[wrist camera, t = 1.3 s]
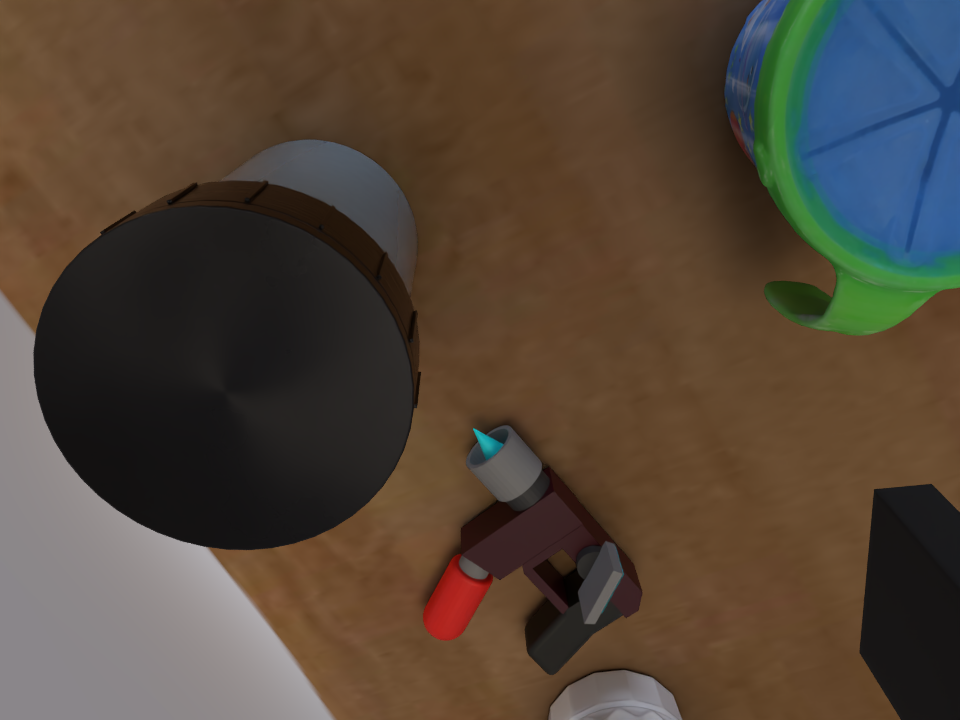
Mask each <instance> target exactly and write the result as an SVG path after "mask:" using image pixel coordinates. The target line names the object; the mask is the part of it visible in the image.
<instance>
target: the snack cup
mask: <svg viewBox="0 0 960 720" xmlns="http://www.w3.org/2000/svg"><path fill="white" fill-rule="evenodd" d="M724 92H725V101H726V103H725V107H726V110H727V114H728V118H729V121H730V124H731V128H732V130H733V132H734V134H735V137H736V139H737V141H738V143H739V145H740V146H741V148H742V150H743V151H744V153H745V154H746V155H747V157H748V158H749V159H750V161H751V162H752V163H753V164H754V166H755V167H756V168H757V171H758V174H759V178H760V180H761V182H762V184H763V185H764V186H766V187H767V189H768V191H769V194H770V195H771V197H772V198H773V200H774V202H775V204H776V206H777V208H778V209H779V210H780V212H781V213H782V214H783V216H784V217H785V219H786V220H787V221H788V222H789V224H790V225H791V226H792V228H793V229H794V231H795V232H796V233H797V234H798V235H799V236H800V237H801V238H802V239H803V240H804V241H805V242H806V243H807V244H809V245H810V246H811V247H812V248H813V249H814V250H815V251H817V252H818V253H820V254H821V255H822V256H824V257H825V258H826V259H828V260H829V261H830V263H831V264H832V265H833V266H834V269H835V272H836V277H837V282H836V286H835V289H834V293H833V297H832V298H831V297H830V296H829V295H827V294H826V293H824V292H823V291H821V290H820V289H818V288H817V287H815V286H813V285H810V284H806V283H800V282H791V281H773V282H770V283H767V284H766V286H765V289H764V294H765V296H766V299H767V300H768V302H769V303H770V304H771V306H772V307H774V308H775V309H776V310H778V311H779V312H780V313H781V314H782V315H783V316H785V317H786V318H788V319H789V320H791V321H793V322H795V323H797V324H799V325H801V326H806V327H809V328H813V329H817V330H825V331H834V332H838V333H842V334H846V335H870V334H873V333H877V332H881V331H884V330H886V329H888V328H891V327H893V326H895V325H897V324H898V323H899V322H901V321H902V320H904V319H906V318H907V317H909V316H910V315H911V314H912V313H913V312H914V311H915V310H917V309H918V308H919V307H920V306H922V305H923V304H924V303H925V302H926V301H927V300H928V299H929V298H930V297H932V296H934V295H935V294H936V293H937V292H939V291H941V290H944V289H952V288H958V287H960V0H763V1H761V2H760V3H759V4H758V5H757V6H756V8H755V9H754V10H753V11H752V12H751V13H750V14H749V16H748V17H747V19H746V23H745V25H744V27H743V28H742V30H741V32H740V34H739V36H738V38H737V40H736V42H735V44H734V46H733V49H732V52H731V55H730V59H729V64H728V67H727V73H726V84H725V88H724Z"/></svg>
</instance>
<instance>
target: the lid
mask: <svg viewBox="0 0 960 720" xmlns="http://www.w3.org/2000/svg"><path fill="white" fill-rule="evenodd" d="M100 233H101V234H102V235H101V236H99V237H98V238H97V239H96V240H94V241H93V242H92V243H90V244H89V245H88V246H87V247H85V248H84V249H83V250H82V251H81V252H80V253H79V254H78V255H77V256H76V257H75V258H74V259H73V260H72V261H71V262H70V263H69V265H68V266H67V267H66V268H65V269H64V271H63V272H62V274H61V275H60V277H59V278H58V280H57V281H56V283H55V284H54V285H53V287H52V289H51V291H50V293H49V296H48V298H47V300H46V302H45V304H44V306H43V309H42V312H41V316H40V319H39V323H38V326H37V330H36V337H35V346H34V378H35V384H36V390H37V396H38V400H39V403H40V407H41V410H42V413H43V416H44V419H45V422H46V424H47V426H48V428H49V430H50V432H51V435H52V437H53V439H54V441H55V443H56V444H57V446H58V448H59V449H60V451H61V452H62V454H63V456H64V457H65V459H66V460H67V462H68V463H69V464H70V465H71V467H72V468H73V469H74V470H75V472H76V473H77V474H78V475H79V476H80V478H81V479H82V480H83V481H84V482H85V483H86V484H87V485H88V486H89V487H90V488H91V489H92V490H93V491H94V492H95V493H97V495H98V496H100V497H101V498H102V499H104V500H105V501H106V502H107V503H109V504H110V505H111V506H112V507H114V508H115V509H116V510H118V511H119V512H121V513H122V514H124V515H126V516H127V517H129V518H131V519H132V520H134V521H135V522H137V523H139V524H141V525H143V526H145V527H147V528H149V529H151V530H153V531H155V532H158V533H160V534H163V535H166V536H168V537H171V538H174V539H177V540H180V541H183V542H187V543H191V544H196V545H200V546H204V547H212V548H219V549H228V550H255V549H266V548H274V547H279V546H284V545H289V544H294V543H297V542H300V541H303V540H306V539H309V538H312V537H315V536H317V535H319V534H321V533H323V532H325V531H328V530H330V529H332V528H334V527H336V526H337V525H339V524H340V523H342V522H343V521H345V520H346V519H348V518H350V517H351V516H353V515H354V514H355V513H356V512H357V511H359V510H360V509H361V508H362V507H363V506H365V505H366V504H367V503H368V502H369V501H370V500H371V499H372V498H373V497H374V496H375V495H376V493H377V492H378V491H379V490H380V489H381V488H382V487H383V486H384V484H385V483H386V481H387V480H388V478H389V477H390V475H391V474H392V472H393V471H394V469H395V467H396V465H397V463H398V461H399V459H400V457H401V455H402V453H403V451H404V448H405V445H406V442H407V439H408V436H409V432H410V429H411V423H412V417H413V410H414V408H417V404H418V394H419V385H420V376H421V372H418V367H419V334H418V326H417V315H418V313H417V311H414V309H413V305H412V301H411V299H410V296H409V294H408V292H407V289H406V287H405V284H404V282H403V280H402V278H401V277H400V275H399V273H398V272H397V270H396V268H395V266H394V265H393V263H392V262H391V260H390V259H389V258H388V255H389V254H388V253H387V252H384V251H383V250H382V249H381V247H380V246H379V245H378V244H377V243H376V242H375V241H374V240H373V239H372V238H371V237H370V236H369V235H368V234H367V233H366V232H365V231H364V230H363V229H362V228H361V227H360V226H359V225H357V224H356V223H355V222H354V221H352V220H351V219H350V218H348V217H347V216H346V215H345V214H343V213H342V212H340V211H338V210H337V209H336V206H334V205H332V206H330V205H328V204H327V203H325V202H323V201H321V200H319V199H316V198H314V197H312V196H310V195H307V194H305V193H303V192H300V191H297V190H293V189H290V188H287V187H283V186H280V185H275V184H269V183H268V181H266V180H264V181H263V182H257V181H237V180H229V181H219V182H208V183H204V184H200V185H197V182H195V183H192V184H191V185H189V186H188V187H186V188H184V189H181V190H179V191H176V192H174V193H171V194H168V195H166V196H164V197H162V198H160V199H159V200H157V201H155V202H153V203H151V204H150V205H148V206H146V207H145V208H143V209H141V210H140V211H138V212H136V211H133V212H131V213H130V214H128V215H127V216H125V217H123V218H122V219H120V220H119V221H117V222H115V223H114V224H112V225H111V226H109V227H107V228H106V229H104V230H103V231H101V232H100Z"/></svg>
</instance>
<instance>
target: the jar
mask: <svg viewBox="0 0 960 720" xmlns="http://www.w3.org/2000/svg"><path fill="white" fill-rule="evenodd" d="M229 180H237V181H257V182H263V181H264V180H266V181H268V183H269V184H275V185H280V186H283V187H287V188H290V189H293V190H297V191H300V192H303V193H305V194H307V195H310V196H312V197H314V198H316V199H319V200H321V201H323V202H325V203H327V204H328V205H330V206H332V205H334V206H336V209H337V210H338V211H340V212H342V213H343V214H345V215H346V216H347V217H348V218H350V219H351V220H352V221H354V222H355V223H356V224H357V225H359V226H360V227H361V228H362V229H363V230H364V231H365V232H366V233H367V234H368V235H369V236H370V237H371V238H372V239H373V240H374V241H375V242H376V243H377V244H378V245H379V246H380V247H381V249H382V250H383V251H384V252H387V253H388V254H389V255H388V258H389V259H390V260H391V262H392V263H393V265H394V266H395V268H396V270H397V272H398V273H399V275H400V277H401V278H402V280H403V282H404V284H405V287H406V289H407V292H408V294H409V296H410V297H411V291H412V285H413V279H414V273H415V267H416V261H417V254H418V238H417V229H416V224H415V220H414V217H413V213H412V211H411V208H410V206H409V203H408V201H407V199H406V198H405V196H404V194H403V192H402V190H401V189H400V188H399V186H398V185H397V184H396V182H395V181H394V180H393V178H392V177H391V176H390V175H389V174H388V173H387V172H386V171H385V170H384V169H383V168H382V167H380V166H379V165H378V164H377V163H376V162H374V161H373V160H372V159H370V158H368V157H367V156H365V155H364V154H362V153H360V152H358V151H356V150H354V149H352V148H349V147H347V146H344V145H340V144H337V143H334V142H328V141H322V140H296V141H290V142H285V143H281V144H278V145H275V146H273V147H270V148H267V149H265V150H263V151H262V152H260V153H258V154H256V155H255V156H253V157H252V158H250V159H249V160H248V161H246V162H245V163H244V164H242V165H241V166H239V167H238V168H237V169H235V170H234V171H233V172H231V173H230V174H228V175H227V176H226V177H224V178H223V179H222V180H220V181H229Z"/></svg>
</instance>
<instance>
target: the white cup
mask: <svg viewBox="0 0 960 720" xmlns="http://www.w3.org/2000/svg"><path fill="white" fill-rule="evenodd" d="M548 720H682V718H681V715H680V713H679V710H678V707H677V704H676V701H675V699H674V696H673V694H672V693H670V692H669V691H668V690H667V689H666V688H664V687H663V686H662V685H661V684H660V683H658V682H657V681H656V680H655V679H654V678H652V677H649V676H646V675H642V674H638V673H634V672H631V671H627V670H618V671H608V672H598V673H593V674H591V675H589V676H587V677H585V678H583V679H581V680H579V681H577V682H575V683H573V684H571V685H569V686H567V687H566V689H565V690H564V691H563V692H562V693H561V695H560V696H559V697H558V698H557V699H556V701H555V702H554V703H553V704H552V705H551V707H550V712H549V717H548Z"/></svg>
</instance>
